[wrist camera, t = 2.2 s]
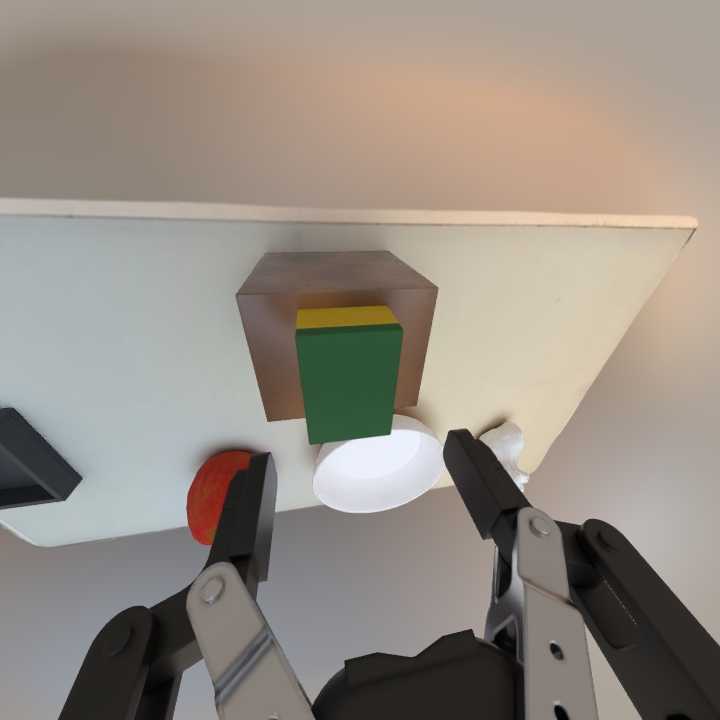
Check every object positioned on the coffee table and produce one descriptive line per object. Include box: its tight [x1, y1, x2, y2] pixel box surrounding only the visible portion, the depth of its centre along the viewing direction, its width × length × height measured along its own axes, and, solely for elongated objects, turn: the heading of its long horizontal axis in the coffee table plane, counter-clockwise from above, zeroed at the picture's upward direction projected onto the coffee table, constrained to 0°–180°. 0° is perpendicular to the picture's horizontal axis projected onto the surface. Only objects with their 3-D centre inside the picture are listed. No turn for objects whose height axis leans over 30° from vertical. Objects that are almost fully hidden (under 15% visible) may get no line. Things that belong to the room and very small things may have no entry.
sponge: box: [295, 306, 404, 445], centre depth 16 cm, size 8×6×4 cm
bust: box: [479, 421, 530, 492], centre depth 42 cm, size 12×8×11 cm
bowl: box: [312, 414, 445, 513], centre depth 39 cm, size 20×20×6 cm
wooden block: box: [236, 251, 438, 422], centre depth 23 cm, size 12×10×12 cm
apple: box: [186, 451, 252, 545], centre depth 35 cm, size 10×10×10 cm
